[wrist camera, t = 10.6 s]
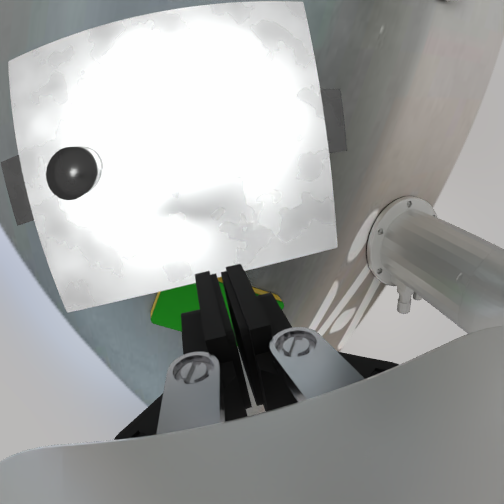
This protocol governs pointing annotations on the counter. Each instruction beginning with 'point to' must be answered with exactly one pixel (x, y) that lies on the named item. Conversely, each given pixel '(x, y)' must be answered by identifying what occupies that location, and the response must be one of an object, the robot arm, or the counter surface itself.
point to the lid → (174, 148)
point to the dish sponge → (185, 304)
